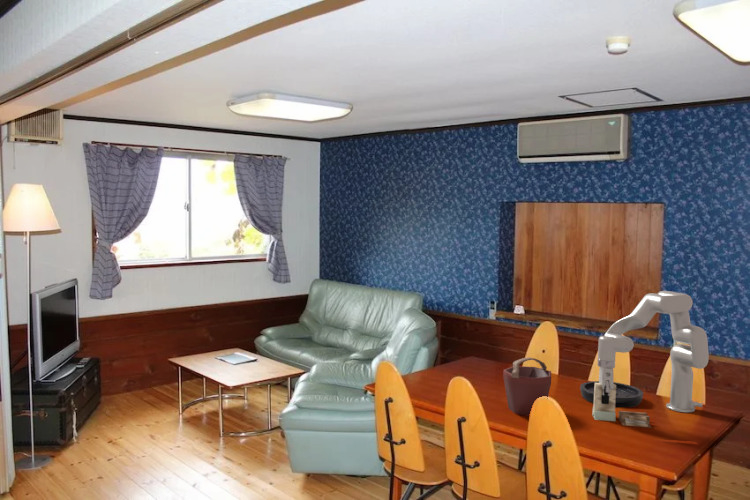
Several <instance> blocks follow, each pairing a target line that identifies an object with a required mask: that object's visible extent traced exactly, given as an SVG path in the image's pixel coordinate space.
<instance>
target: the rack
mask: <svg viewBox="0 0 750 500" xmlns="http://www.w3.org/2000/svg"><path fill="white" fill-rule="evenodd" d="M629 416H638V417H646V419H647V421H646V422H647V424H648V427H647V428H652V425H650V417H651V416H649V415H648V413H647V412H640V411H625V410H619V411H618V418H617V419H618V420H619V422H620V423H621V425H622V426H627V427H628V426H629V427H632V426H631V425H626V424H625V418H629ZM637 427H640V428H641V427H642V428H646V427H645V426H637Z"/></svg>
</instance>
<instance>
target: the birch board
mask: <svg viewBox="0 0 750 500" xmlns="http://www.w3.org/2000/svg"><path fill="white" fill-rule="evenodd" d="M604 388H606V387H604ZM604 391H606V390H604ZM602 393H603V389H602V388H601V384H600V383H595V386H594V403H592V404H593V406H592V413H594V410H595V411H609V412H615V413H616V407H615V400H616V385H615V384H613V390H611V388H610V387H609V404H602V403H601V400H602Z"/></svg>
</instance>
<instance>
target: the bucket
mask: <svg viewBox="0 0 750 500" xmlns="http://www.w3.org/2000/svg"><path fill="white" fill-rule="evenodd" d="M528 361H535V362H536V363H538V364H539V366H540V367H541V368H539V367H536V366H521V365H520V364H523V363H524V362H525V363H526V362H528ZM502 373H503V374H502V376H503V382H504V389H505V394H506V400H507V406H508V407H507V408H508V409H509V410H510V411H512V413H513V414H516V415H521V416H527V417H530V416H529V414H530V411H531V408H532V405H533V403H534V401H535V400H536V399H537V398H539V397H542V396H547V397H549V394H550V389H551V387H552V370H548V367H547V365H546V363H545V362H544V361H541V360H540V359H537V358H534V357H523V358H520V359H517V360H514V361H513V362H512V366H510V367H508V368H505V369H503V372H502Z"/></svg>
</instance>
